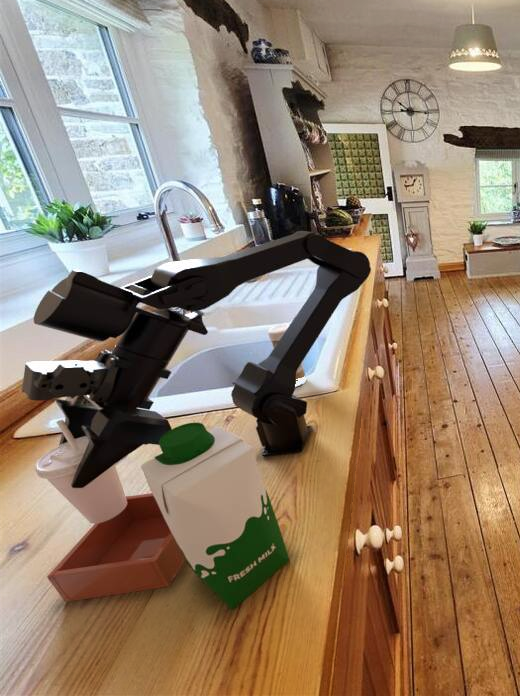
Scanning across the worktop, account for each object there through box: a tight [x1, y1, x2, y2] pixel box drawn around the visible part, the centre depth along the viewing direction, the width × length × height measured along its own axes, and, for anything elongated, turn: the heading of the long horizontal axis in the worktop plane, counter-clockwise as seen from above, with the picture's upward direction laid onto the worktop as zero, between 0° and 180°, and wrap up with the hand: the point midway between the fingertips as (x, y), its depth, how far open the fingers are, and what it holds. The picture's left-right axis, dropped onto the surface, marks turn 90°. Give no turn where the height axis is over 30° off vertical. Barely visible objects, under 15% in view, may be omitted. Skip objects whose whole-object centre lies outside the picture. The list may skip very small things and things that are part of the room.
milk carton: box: [140, 421, 291, 611], centre depth 46 cm, size 9×9×20 cm
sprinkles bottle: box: [267, 323, 306, 381], centre depth 87 cm, size 5×5×13 cm
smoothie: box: [33, 419, 127, 525], centre depth 49 cm, size 6×6×14 cm
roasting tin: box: [46, 492, 187, 603], centre depth 52 cm, size 11×11×4 cm
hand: (67, 476), depth 48 cm, fingers closed on smoothie, 6 cm apart
